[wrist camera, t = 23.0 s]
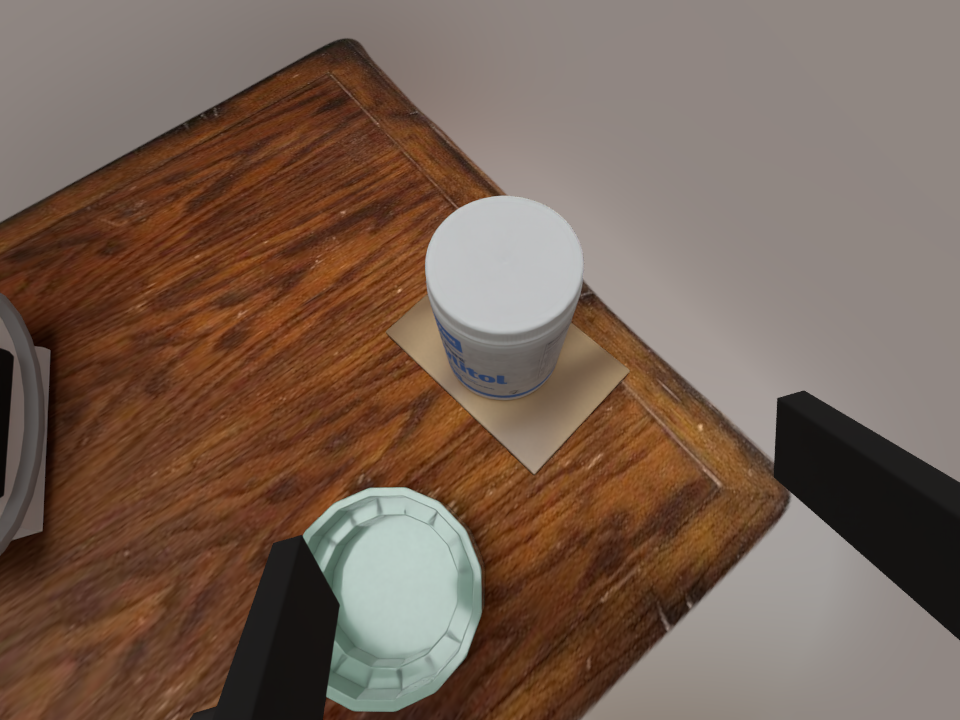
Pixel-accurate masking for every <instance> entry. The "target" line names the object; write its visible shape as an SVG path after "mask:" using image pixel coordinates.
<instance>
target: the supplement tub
mask: <svg viewBox="0 0 960 720" xmlns="http://www.w3.org/2000/svg"><path fill="white" fill-rule="evenodd" d="M425 272H426V282H427V292H428V296H429V300H430V304H431V307H432V311H433V314H434V317H435V320H436V323H437V326H438V330H439V333H440V336H441V339H442V342H443V345H444V349H445V352H446V355H447V358H448V361H449V364H450V366H451V369H452V371H453V372H454V374H455V376H456V377H457V379H458V380H459V381H460V382H461V383H462V384H463V385H464V386H465V387H466V388H467V389H469V390H470V391H472V392H474V393H475V394H477V395H479V396H482V397H485V398H489V399H495V400H513V399H518V398H521V397H524V396H526V395H529V394H531V393H532V392H534V391H536V390H537V389H538V388H540V387H541V386H542V385H543V384H544V383H545V382H546V381H547V380H548V378H549V377H550V376H551V374H552V372H553V370H554V368H555V365H556V363H557V360H558V357H559V354H560V351H561V349H562V346H563V343H564V340H565V337H566V334H567V331H568V329H569V326H570V323H571V320H572V317H573V314H574V311H575V308H576V305H577V302H578V299H579V296H580V293H581V289H582V283H583V272H584V257H583V251H582V248H581V244H580V242H579V239H578V237H577V235H576V233H575V232H574V231H573V229H572V227H571V226H570V225H569V224H568V222H567V221H566V220H565V219H564V218H563V217H562V216H560V215H559V214H558V213H557V212H555V211H554V210H552V209H551V208H549V207H548V206H545V205H544V204H541V203H539V202H537V201H534V200H531V199H527V198H522V197H516V196H494V197H488V198H483V199H480V200H477V201H474V202H471V203H469V204H467V205H465V206H463V207H461V208H459V209H458V210H456V211H455V212H453V213H452V214H451V215H450V216H449V217H447V218H446V219H445V220H444V221H443V222H442V224H441V225H440V226H439V227H438V229H437V230H436V232H435V233H434V235H433V237H432V239H431V241H430V243H429V246H428V249H427V254H426V261H425Z"/></svg>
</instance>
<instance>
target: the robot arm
mask: <svg viewBox="0 0 960 720" xmlns="http://www.w3.org/2000/svg"><path fill="white" fill-rule="evenodd" d="M774 478H775V479H776V480H778V481H779V482H780V483H781V484H782V485H783V486H784V487H786V488H787V489H788V490H789V491H790V492H791V493H792V494H794V495H795V496H796V497H797V498H798V499H799V500H800V501H802V502H803V503H804V504H805V505H806V506H807V507H808V508H810V509H811V510H812V511H813V512H814V513H815V514H816V515H818V516H819V517H820V518H821V519H822V520H823V521H824V522H826V523H827V524H828V525H829V526H830V527H831V528H832V529H833V530H835V531H836V532H837V533H838V534H839V535H840V536H841V537H843V538H844V539H845V540H846V541H847V542H848V543H849V544H851V545H852V546H853V547H854V548H855V549H856V550H857V551H859V552H860V553H861V554H862V555H863V556H864V557H865V558H867V559H868V560H869V561H870V562H871V563H872V564H873V565H875V566H876V567H877V568H878V569H879V570H880V571H882V572H883V573H884V574H885V575H886V576H887V577H888V578H889V579H891V580H892V581H893V582H894V583H895V584H896V585H897V586H898V587H900V588H901V589H902V590H903V591H904V592H905V593H907V594H908V595H909V596H910V597H911V598H913V600H914V601H916V602H917V603H918V604H919V605H920V606H921V607H922V608H924V609H925V610H926V611H927V612H928V613H929V614H930V615H931V616H933V617H934V618H935V619H936V620H937V621H938V622H940V623H941V624H942V625H943V626H944V627H945V628H946V629H948V630H949V631H950V632H951V633H952V634H953V635H954V636H955V637H957V638H958V639H959V640H960V482H958V481H956V480H955V479H953V478H951V477H949V476H948V475H946V474H944V473H943V472H941V471H939V470H938V469H936V468H934V467H933V466H931V465H929V464H927V463H926V462H924V461H922V460H921V459H919V458H917V457H916V456H914V455H912V454H911V453H909V452H907V451H905V450H904V449H902V448H900V447H899V446H897V445H895V444H894V443H892V442H890V441H889V440H887V439H885V438H884V437H882V436H880V435H878V434H877V433H875V432H873V431H872V430H870V429H868V428H867V427H865V426H863V425H862V424H860V423H858V422H857V421H855V420H853V419H851V418H850V417H848V416H846V415H845V414H843V413H841V412H840V411H838V410H836V409H835V408H833V407H831V406H830V405H828V404H826V403H824V402H823V401H821V400H819V399H818V398H816V397H814V396H813V395H811V394H809V393H808V392H806V391H801V392H797V393H794V394H790V395H787V396H783V397H780V398H778V399H777V418H776V439H775V461H774ZM339 607H340V604H339V602H338V600H337V598H336V596H335V595H334V593H333V591H332V589H331V587H330V585H329V584H328V582H327V580H326V578H325V576H324V574H323V572H322V571H321V569H320V567H319V565H318V563H317V561H316V560H315V558H314V556H313V554H312V552H311V550H310V549H309V547H308V545H307V543H306V541H305V539H304V538H303V536H302V535H300V536H297V537H293V538H290V539H286V540H283V541H279V542H276V543H273V545H272V548H271V551H270V554H269V557H268V560H267V563H266V566H265V569H264V572H263V574H262V577H261V580H260V583H259V586H258V589H257V592H256V595H255V598H254V601H253V603H252V606H251V609H250V612H249V615H248V618H247V621H246V624H245V627H244V629H243V632H242V635H241V638H240V641H239V644H238V647H237V650H236V653H235V656H234V658H233V661H232V664H231V667H230V670H229V673H228V676H227V679H226V682H225V685H224V687H223V690H222V693H221V696H220V699H219V702H218V705H217V706H216V707H213V708H210V709H206V710H203V711H200V712H196V713H194V714H193V715H192V717H191V718H190V720H323V714H324V707H325V701H326V694H327V687H328V681H329V674H330V667H331V661H332V654H333V647H334V641H335V634H336V627H337V621H338V614H339Z"/></svg>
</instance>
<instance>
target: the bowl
mask: <svg viewBox="0 0 960 720" xmlns="http://www.w3.org/2000/svg"><path fill="white" fill-rule="evenodd" d="M303 538H304V539H305V541H306V543H307V545H308V547H309V549H310V550H311V552H312V554H313V556H314V558H315V560H316V561H317V563H318V565H319V567H320V569H321V571H322V572H323V574H324V576H325V578H326V580H327V582H328V584H329V585H330V587H331V589H332V591H333V593H334V595H335V596H336V598H337V600H338V602H339V604H340V607H339V614H338V621H337V627H336V634H335V641H334V647H333V654H332V661H331V667H330V674H329V681H328V687H327V694H326V697H328V698H330V699H331V700H333V701H335V702H337V703H339V704H341V705H343V706H345V707H346V708H348V709H350V710H352V711H380V712H395V711H398V710H400V709H402V708H404V707H406V706H408V705H411V704H413V703H415V702H417V701H419V700H421V699H423V698H425V697H427V696H429V695H431V694H434V693H435V692H437V691H438V689H439V688H440V687H441V686H442V685H443V684H444V682H445V681H446V680H447V679H448V678H449V677H450V676H451V674H452V673H453V672H454V671H455V670H456V669H457V667H458V666H459V665H460V664H461V663H462V662H463V661H464V659H465V658H466V656H467V654H468V651H469V648H470V645H471V643H472V640H473V637H474V634H475V631H476V629H477V626H478V623H479V620H480V618H481V615H482V611H483V608H484V605H485V566H484V562H483V559H482V557H481V554H480V551H479V549H478V546H477V544H476V541H475V539H474V536H473V533H472V531H471V529H470V528H469V527H468V526H467V525H466V524H465V523H464V522H463V521H462V520H461V519H460V518H459V516H458V515H457V514H456V513H455V512H454V511H453V510H452V509H451V508H450V507H449V506H448V505H447V504H445V503H442V502H440V501H437V500H435V499H433V498H430V497H428V496H426V495H423V494H421V493H419V492H416V491H414V490H411V489H409V488H406V487H387V488H368V489H365V490H363V491H361V492H358V493H356V494H354V495H351V496H349V497H347V498H344V499H342V500H340V501H338V502H335V503H334V504H332V505H331V506H330V507H329V508H328V509H327V510H326V511H325V512H324V513H323V514H322V515H321V516H320V517H319V518H318V519H317V520H316V521H315V522H314V523H313V524H312V525H311V526H310V527H309V528H308V529H307V530H306V531H305V532H304V535H303Z"/></svg>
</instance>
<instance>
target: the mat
mask: <svg viewBox="0 0 960 720" xmlns="http://www.w3.org/2000/svg"><path fill="white" fill-rule="evenodd" d="M386 333H387V335H388V336H389V337H390V338H391V339H392V340H393V341H394V342H395V343H397V344H398V345H399V346H400V347H401V348H402V349H403V350H404V351H405V352H406V353H407V354H408V355H409V356H410V357H411V358H412V359H413V360H414V361H415V362H416V363H417V364H418V365H419V366H420V367H421V368H423V369H424V370H425V371H426V372H427V373H428V374H429V375H430V376H431V377H432V378H433V379H434V380H435V381H436V382H437V383H438V384H439V385H440V386H441V387H442V388H443V389H444V390H445V391H446V392H447V393H449V394H450V395H451V396H452V397H453V398H454V399H455V400H456V401H457V402H458V403H459V404H460V405H461V406H462V407H463V408H464V409H465V410H466V411H467V412H468V413H469V414H470V415H471V416H472V417H473V418H475V419H476V420H477V421H478V422H479V423H480V424H481V425H482V426H483V427H484V428H485V429H486V430H487V431H488V432H489V433H490V434H491V435H492V436H493V437H494V438H495V439H496V440H497V441H498V442H500V443H501V444H502V445H503V446H504V447H505V448H506V449H507V450H508V451H509V452H510V453H511V454H512V455H513V456H514V457H515V458H516V459H517V460H518V461H519V462H520V463H521V464H522V465H523V466H524V467H526V468H527V469H528V470H529V471H530V472H531V473H532V474H533V475H535V474H536V473H537V472H538V471H539V470H540V469H541V467H542V466H543V465H544V464H545V463H546V462H547V461H548V460H549V459H550V458H551V457H552V456H553V454H554V453H555V452H556V451H557V450H558V449H559V448H560V447H561V446H562V445H563V444H564V442H565V441H566V440H567V439H568V438H569V437H570V436H571V435H572V434H573V433H574V432H575V431H576V429H577V428H578V427H579V426H580V425H581V424H582V423H583V422H584V421H585V420H586V419H587V418H588V416H589V415H590V414H591V413H592V412H593V411H594V410H595V409H596V408H597V407H598V406H599V404H600V403H601V402H602V401H603V400H604V399H605V398H606V397H607V396H608V395H609V394H610V393H611V391H612V390H613V389H614V388H615V387H616V386H617V385H618V384H619V383H620V382H621V381H622V380H623V378H624V377H625V376H626V375H627V374H628V373H629V372H630V370H629V369H628V368H626V367H625V366H624V365H623V364H621V363H620V362H619V361H618V360H617V359H615V358H614V357H613V356H612V355H610V354H609V353H608V352H607V351H606V350H604V349H603V348H602V347H601V346H599V345H598V344H597V343H596V342H594V341H593V340H592V339H591V338H590V337H588V336H587V335H586V334H585V333H583V332H582V331H581V330H580V329H579V328H577V327H576V326H575V325H574V324H572V323H570V326H569V329H568V331H567V334H566V337H565V340H564V343H563V346H562V349H561V351H560V354H559V357H558V360H557V363H556V365H555V368H554V370H553V372H552V374H551V376H550V377H549V378H548V380H547V381H546V382H545V383H544V384H543V385H542V386H541V387H540V388H538V389H537V390H536V391H534V392H532V393H531V394H529V395H526V396H524V397H521V398H518V399H513V400H495V399H489V398H485V397H482V396H479V395H477V394H475V393H474V392H472V391H470V390H469V389H467V388H466V387H465V386H464V385H463V384H462V383H461V382H460V381H459V380H458V379H457V377H456V376H455V374H454V372H453V371H452V369H451V366H450V364H449V361H448V358H447V355H446V352H445V349H444V345H443V342H442V339H441V336H440V333H439V330H438V326H437V323H436V320H435V317H434V314H433V311H432V307H431V304H430V300H429V296H428V294H427V295H426V296H425V297H423V298H422V299H421V300H420V301H419V302H418V303H417V304H416V305H415V306H413V307H412V308H411V309H410V310H409V311H408V312H407V313H406V314H405V315H404V316H402V317H401V318H400V319H399V320H398V321H397V322H396V323H395V324H394V325H392V326H391V327H390V328H389V329H388V330H387V331H386Z"/></svg>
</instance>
